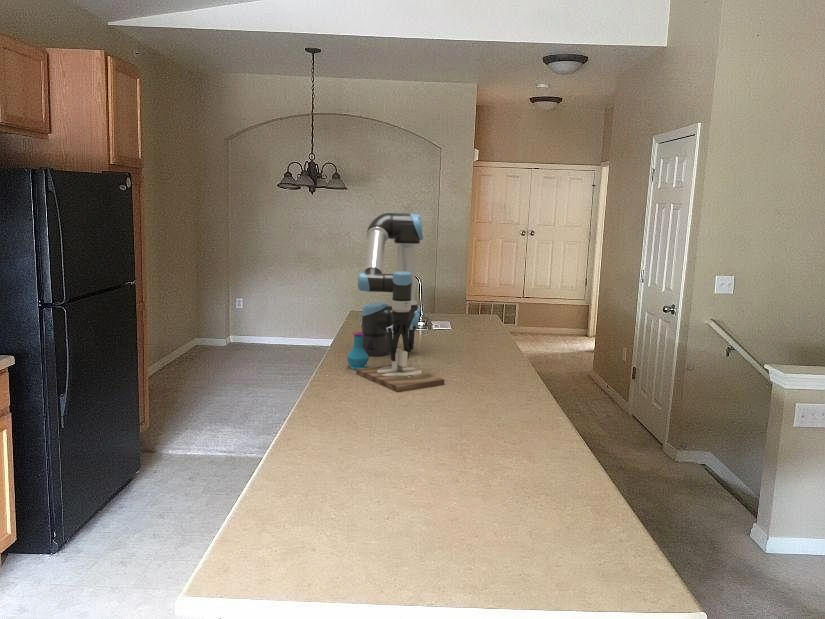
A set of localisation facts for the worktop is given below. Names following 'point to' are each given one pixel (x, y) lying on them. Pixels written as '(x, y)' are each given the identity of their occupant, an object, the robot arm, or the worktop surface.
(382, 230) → the robot arm
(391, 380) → the tuner board
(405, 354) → the beige block with bar
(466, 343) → the worktop surface
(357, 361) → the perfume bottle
